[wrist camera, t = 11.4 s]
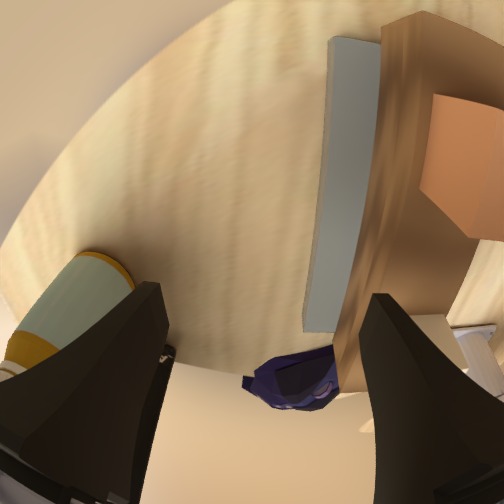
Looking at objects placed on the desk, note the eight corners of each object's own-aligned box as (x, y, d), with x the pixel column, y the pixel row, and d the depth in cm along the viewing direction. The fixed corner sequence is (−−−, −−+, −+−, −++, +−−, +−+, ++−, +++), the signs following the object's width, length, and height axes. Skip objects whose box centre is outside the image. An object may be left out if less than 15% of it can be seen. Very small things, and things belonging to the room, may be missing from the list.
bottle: (147, 315, 25) (86, 467, 13) (85, 306, 26) (15, 432, 13) (130, 249, 22) (28, 419, 9) (63, 245, 22) (-40, 376, 9)
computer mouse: (221, 376, 30) (216, 407, 27) (338, 312, 24) (345, 348, 21) (277, 407, 33) (276, 435, 30) (385, 357, 27) (393, 389, 24)
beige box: (419, 358, 16) (435, 409, 13) (364, 362, 16) (374, 418, 13) (443, 313, 14) (469, 368, 11) (383, 315, 14) (402, 378, 11)
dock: (410, 314, 23) (418, 333, 21) (301, 314, 24) (303, 335, 22) (470, 77, 13) (490, 80, 11) (327, 40, 13) (335, 35, 11)
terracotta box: (485, 200, 10) (536, 245, 7) (419, 188, 11) (468, 237, 7) (502, 118, 8) (565, 144, 5) (433, 93, 8) (498, 108, 5)
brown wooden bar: (388, 339, 22) (403, 388, 18) (332, 340, 23) (339, 393, 18) (458, 51, 11) (512, 52, 6) (381, 27, 11) (423, 10, 7)
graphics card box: (122, 314, 26) (23, 581, 3) (185, 348, 28) (124, 616, 5) (95, 380, 34) (36, 546, 11) (139, 402, 36) (93, 569, 13)
